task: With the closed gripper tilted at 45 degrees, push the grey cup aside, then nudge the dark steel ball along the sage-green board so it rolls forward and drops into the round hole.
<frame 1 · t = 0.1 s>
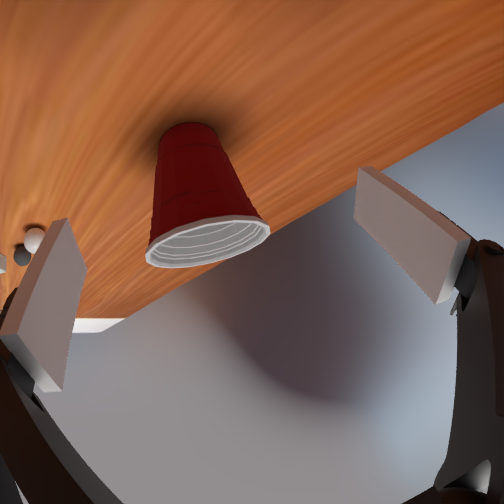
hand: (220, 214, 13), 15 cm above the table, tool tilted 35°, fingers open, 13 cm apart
plastic cup: (188, 140, 31), on the table
white ball: (35, 240, 36), point 2 cm above the table
black ball: (22, 255, 39), point 1 cm above the table
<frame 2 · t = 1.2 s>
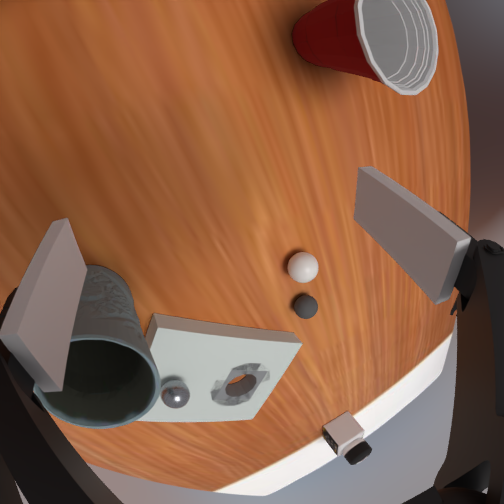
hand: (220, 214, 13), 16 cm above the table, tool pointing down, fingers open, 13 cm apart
medicine bottle: (334, 423, 67), on the table
plastic cup: (316, 40, 27), on the table
grey cup: (90, 299, 29), on the table
white ball: (303, 267, 36), point 2 cm above the table
board: (208, 372, 40), on the table
black ball: (306, 307, 40), point 1 cm above the table
steel ball: (174, 394, 33), point 4 cm above the table, touching board
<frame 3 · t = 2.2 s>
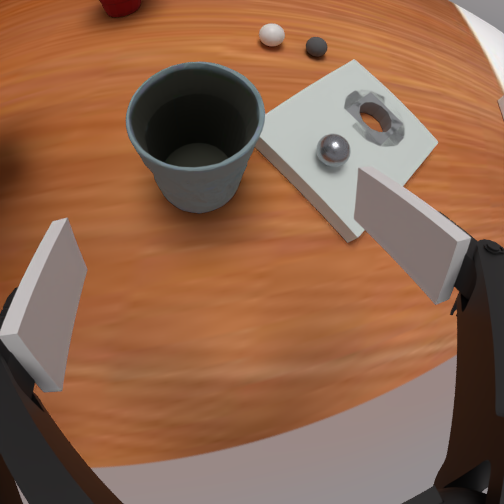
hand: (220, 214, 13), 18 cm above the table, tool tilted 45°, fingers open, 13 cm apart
plastic cup: (124, 8, 36), on the table
grey cup: (196, 176, 33), on the table
white ball: (271, 34, 36), point 2 cm above the table
board: (350, 141, 36), on the table
black ball: (316, 46, 37), point 1 cm above the table
steel ball: (333, 150, 30), point 4 cm above the table, touching board
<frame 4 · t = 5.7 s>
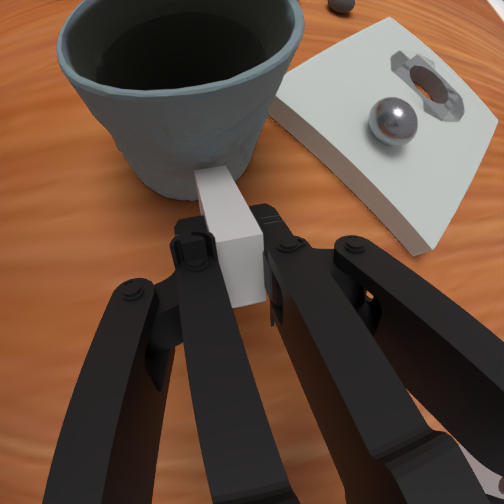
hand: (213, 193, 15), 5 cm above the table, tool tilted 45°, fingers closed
grey cup: (187, 146, 21), on the table, touching gripper
board: (400, 115, 24), on the table
black ball: (341, 1, 25), point 1 cm above the table
steel ball: (393, 121, 19), point 4 cm above the table, touching board
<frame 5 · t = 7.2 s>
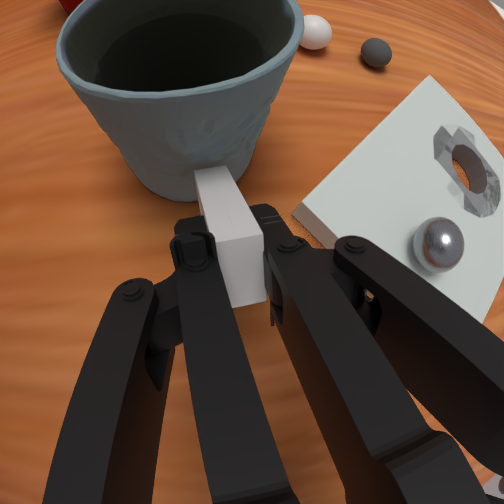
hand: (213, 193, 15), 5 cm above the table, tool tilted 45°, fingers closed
plastic cup: (91, 1, 24), on the table
grey cup: (187, 148, 21), on the table, touching gripper
white ball: (312, 32, 23), point 2 cm above the table
board: (437, 206, 23), on the table
black ball: (376, 52, 24), point 1 cm above the table
steel ball: (438, 244, 17), point 4 cm above the table, touching board
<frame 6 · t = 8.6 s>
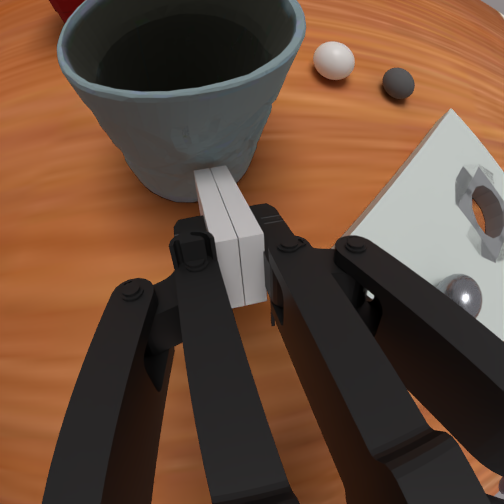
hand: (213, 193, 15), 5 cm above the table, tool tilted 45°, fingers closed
plastic cup: (93, 15, 23), on the table
grey cup: (187, 148, 21), on the table, touching gripper
white ball: (334, 60, 22), point 2 cm above the table
board: (454, 249, 22), on the table
black ball: (398, 83, 23), point 1 cm above the table
steel ball: (457, 301, 17), point 4 cm above the table, touching board
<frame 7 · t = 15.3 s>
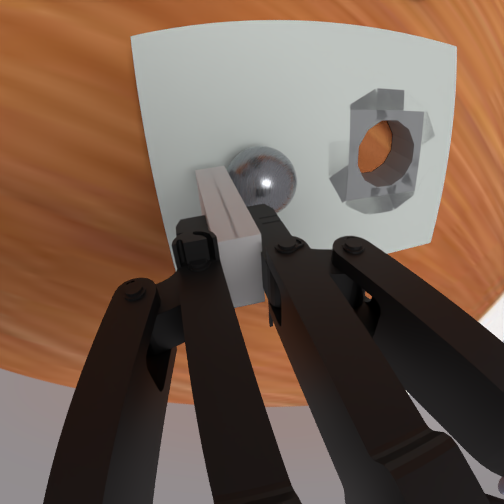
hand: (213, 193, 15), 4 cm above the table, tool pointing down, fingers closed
board: (315, 146, 20), on the table
steel ball: (261, 181, 15), point 4 cm above the table, tilted 41°, touching board, gripper
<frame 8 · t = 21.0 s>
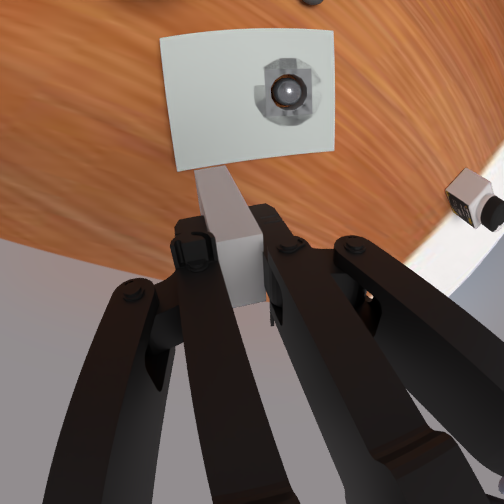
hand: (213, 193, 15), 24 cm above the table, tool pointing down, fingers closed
medicine bottle: (458, 189, 52), on the table
board: (250, 92, 35), on the table
steel ball: (287, 91, 34), point 2 cm above the table, tilted 5°
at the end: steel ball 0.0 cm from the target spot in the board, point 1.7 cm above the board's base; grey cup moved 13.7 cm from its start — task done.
